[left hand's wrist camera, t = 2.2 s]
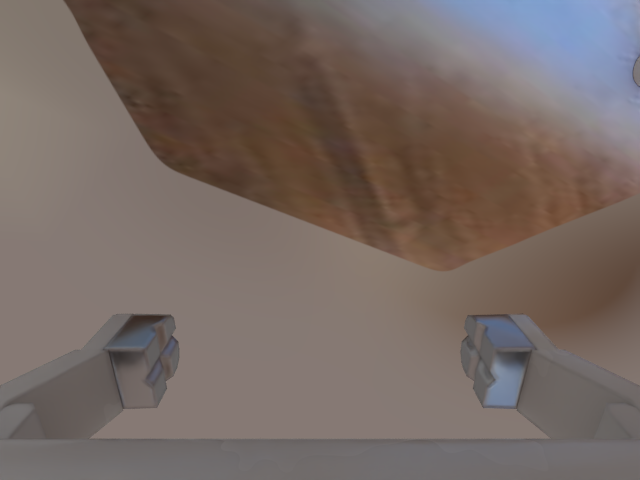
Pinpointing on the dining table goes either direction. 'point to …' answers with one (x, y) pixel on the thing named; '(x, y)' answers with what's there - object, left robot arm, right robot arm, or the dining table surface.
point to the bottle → (637, 72)
